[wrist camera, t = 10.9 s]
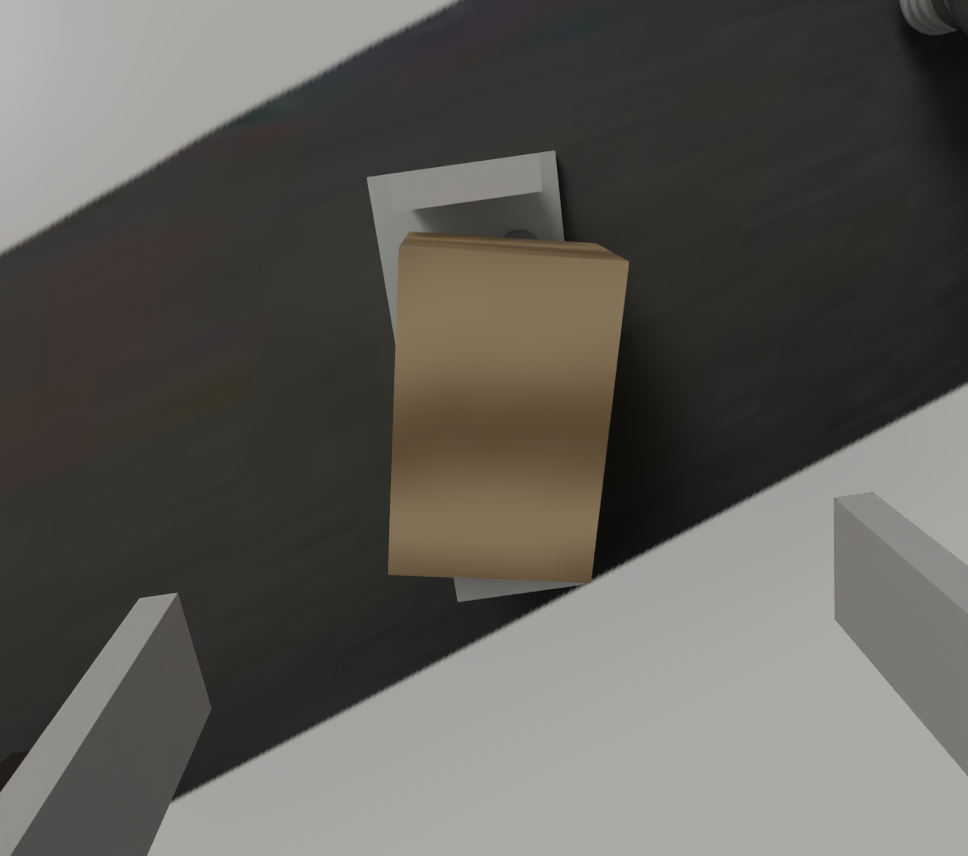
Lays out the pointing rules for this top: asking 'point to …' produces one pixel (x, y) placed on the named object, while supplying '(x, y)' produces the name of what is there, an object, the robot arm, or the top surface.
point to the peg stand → (469, 211)
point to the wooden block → (502, 405)
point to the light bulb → (936, 15)
